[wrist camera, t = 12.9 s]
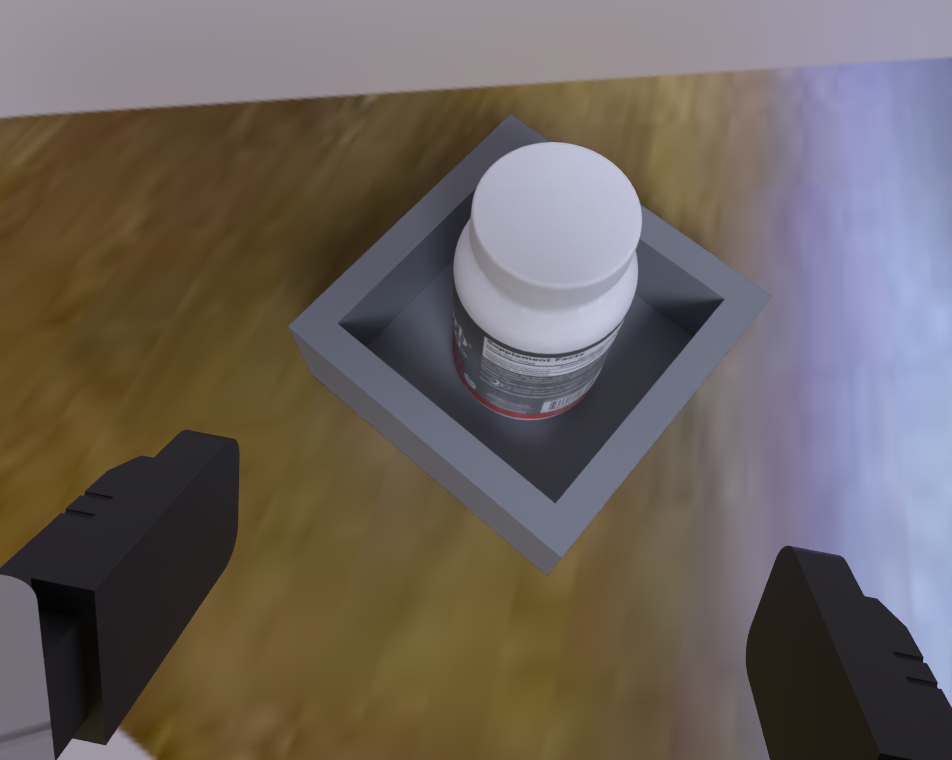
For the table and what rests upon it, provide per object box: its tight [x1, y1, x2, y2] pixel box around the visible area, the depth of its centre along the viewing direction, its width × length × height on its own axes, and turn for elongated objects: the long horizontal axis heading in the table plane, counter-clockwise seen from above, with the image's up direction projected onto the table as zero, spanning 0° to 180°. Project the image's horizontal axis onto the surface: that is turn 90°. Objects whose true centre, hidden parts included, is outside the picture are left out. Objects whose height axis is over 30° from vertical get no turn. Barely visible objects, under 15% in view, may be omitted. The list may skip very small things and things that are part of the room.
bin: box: [288, 114, 772, 576], centre depth 29 cm, size 12×12×4 cm
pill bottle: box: [453, 142, 642, 420], centre depth 26 cm, size 6×6×10 cm
